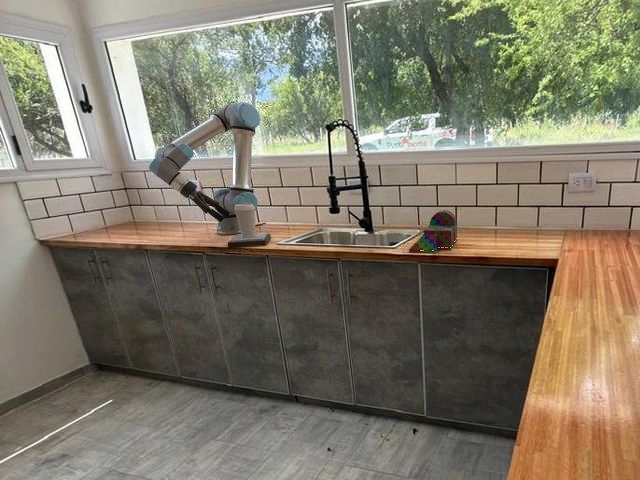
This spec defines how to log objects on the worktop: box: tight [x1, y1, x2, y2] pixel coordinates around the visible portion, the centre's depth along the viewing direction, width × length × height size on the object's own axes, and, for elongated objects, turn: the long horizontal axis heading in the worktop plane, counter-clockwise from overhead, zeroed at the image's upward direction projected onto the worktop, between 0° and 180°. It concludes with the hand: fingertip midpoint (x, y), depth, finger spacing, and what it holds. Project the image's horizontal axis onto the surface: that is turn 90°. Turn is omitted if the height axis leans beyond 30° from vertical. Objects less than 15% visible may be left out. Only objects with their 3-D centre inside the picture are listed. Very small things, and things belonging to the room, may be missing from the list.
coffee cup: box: [234, 204, 257, 238], centre depth 213 cm, size 10×10×15 cm
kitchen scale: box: [226, 232, 272, 249], centre depth 217 cm, size 18×17×3 cm
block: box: [408, 209, 458, 254], centre depth 196 cm, size 25×17×14 cm
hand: (225, 217), depth 211 cm, fingers open, 13 cm apart
